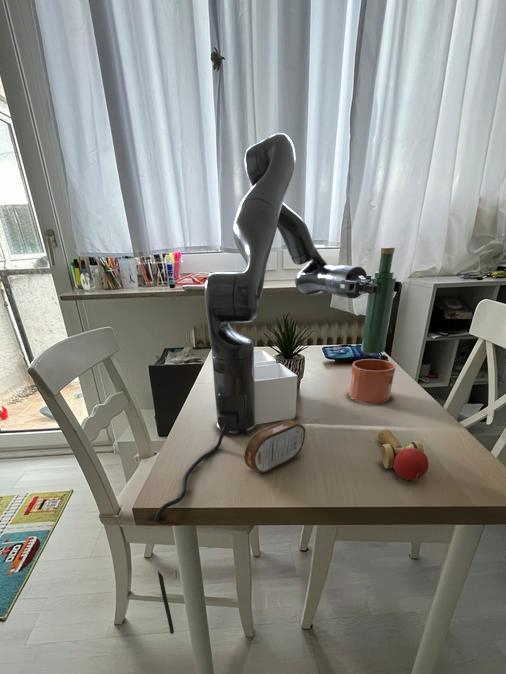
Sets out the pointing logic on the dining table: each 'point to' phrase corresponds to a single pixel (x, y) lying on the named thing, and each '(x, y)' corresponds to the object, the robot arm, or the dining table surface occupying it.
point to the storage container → (273, 389)
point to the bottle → (379, 305)
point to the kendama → (403, 457)
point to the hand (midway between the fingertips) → (389, 288)
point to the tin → (274, 445)
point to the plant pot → (371, 380)
